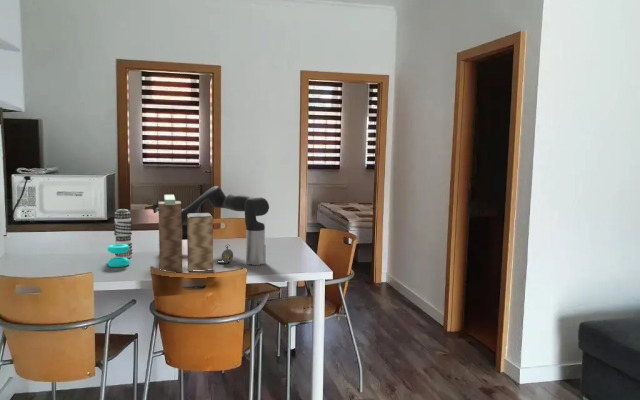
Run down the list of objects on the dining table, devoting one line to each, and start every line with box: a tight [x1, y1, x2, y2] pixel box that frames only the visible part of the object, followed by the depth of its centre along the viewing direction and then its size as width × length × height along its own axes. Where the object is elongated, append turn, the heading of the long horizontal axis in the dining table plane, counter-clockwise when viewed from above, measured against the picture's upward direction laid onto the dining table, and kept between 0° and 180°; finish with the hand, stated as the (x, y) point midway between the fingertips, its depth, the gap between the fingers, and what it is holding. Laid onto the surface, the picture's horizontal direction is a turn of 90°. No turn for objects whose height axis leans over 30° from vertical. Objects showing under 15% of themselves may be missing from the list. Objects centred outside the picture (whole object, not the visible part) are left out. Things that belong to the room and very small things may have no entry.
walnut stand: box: [158, 200, 183, 273], centre depth 234 cm, size 10×10×32 cm
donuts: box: [106, 243, 131, 268], centre depth 242 cm, size 10×10×10 cm
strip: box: [163, 194, 176, 205], centre depth 235 cm, size 4×24×2 cm, turn 18°
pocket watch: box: [216, 243, 234, 264], centre depth 250 cm, size 8×8×10 cm
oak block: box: [186, 212, 214, 272], centre depth 238 cm, size 11×12×26 cm
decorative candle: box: [113, 208, 133, 259], centre depth 261 cm, size 9×9×25 cm
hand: (167, 202), depth 249 cm, fingers open, 8 cm apart
